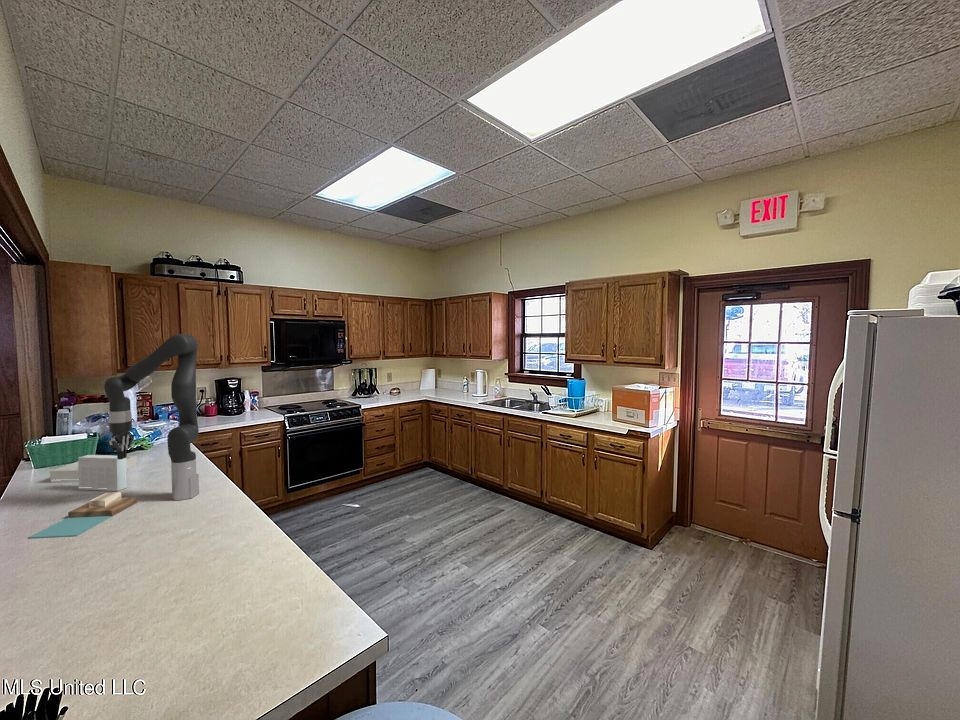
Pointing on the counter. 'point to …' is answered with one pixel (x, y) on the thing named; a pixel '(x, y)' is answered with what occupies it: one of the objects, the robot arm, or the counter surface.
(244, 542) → the counter surface
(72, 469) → the white stepped block
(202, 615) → the counter surface
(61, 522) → the mat
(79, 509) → the brown flat block
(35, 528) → the counter surface
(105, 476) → the skincare box
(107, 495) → the beige block
